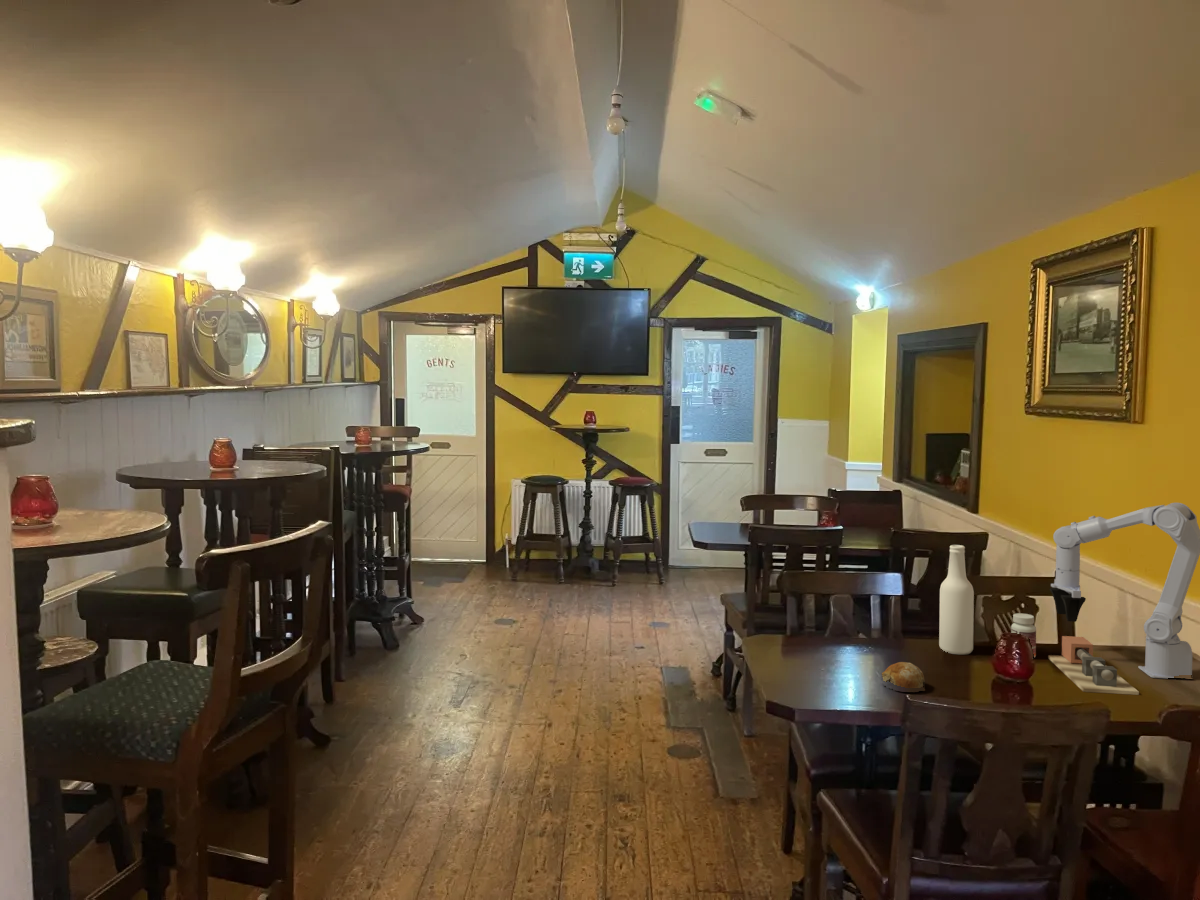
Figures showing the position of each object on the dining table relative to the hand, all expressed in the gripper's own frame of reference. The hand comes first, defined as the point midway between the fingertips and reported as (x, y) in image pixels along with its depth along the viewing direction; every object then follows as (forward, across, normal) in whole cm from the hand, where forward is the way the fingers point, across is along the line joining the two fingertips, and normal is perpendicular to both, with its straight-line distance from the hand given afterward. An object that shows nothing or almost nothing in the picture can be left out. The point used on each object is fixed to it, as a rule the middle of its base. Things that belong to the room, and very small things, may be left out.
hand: (1066, 617), depth 222 cm
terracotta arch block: (+9, +8, 0) cm, 12 cm away
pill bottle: (+11, +3, -12) cm, 16 cm away
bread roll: (+11, +34, -48) cm, 60 cm away
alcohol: (+11, +1, -29) cm, 31 cm away
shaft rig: (+10, +17, 0) cm, 20 cm away
